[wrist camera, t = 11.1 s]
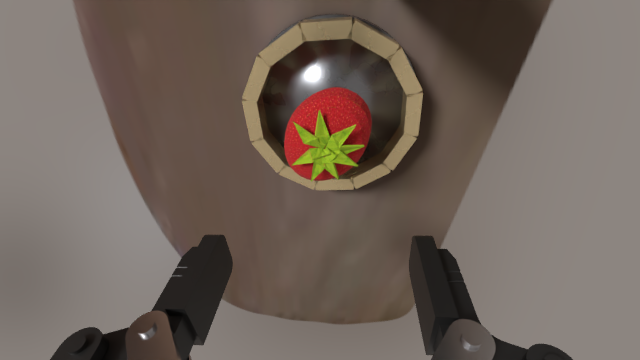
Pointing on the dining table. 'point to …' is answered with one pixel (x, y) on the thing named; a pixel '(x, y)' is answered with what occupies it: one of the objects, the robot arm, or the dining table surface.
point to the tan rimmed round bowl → (334, 71)
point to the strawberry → (327, 134)
